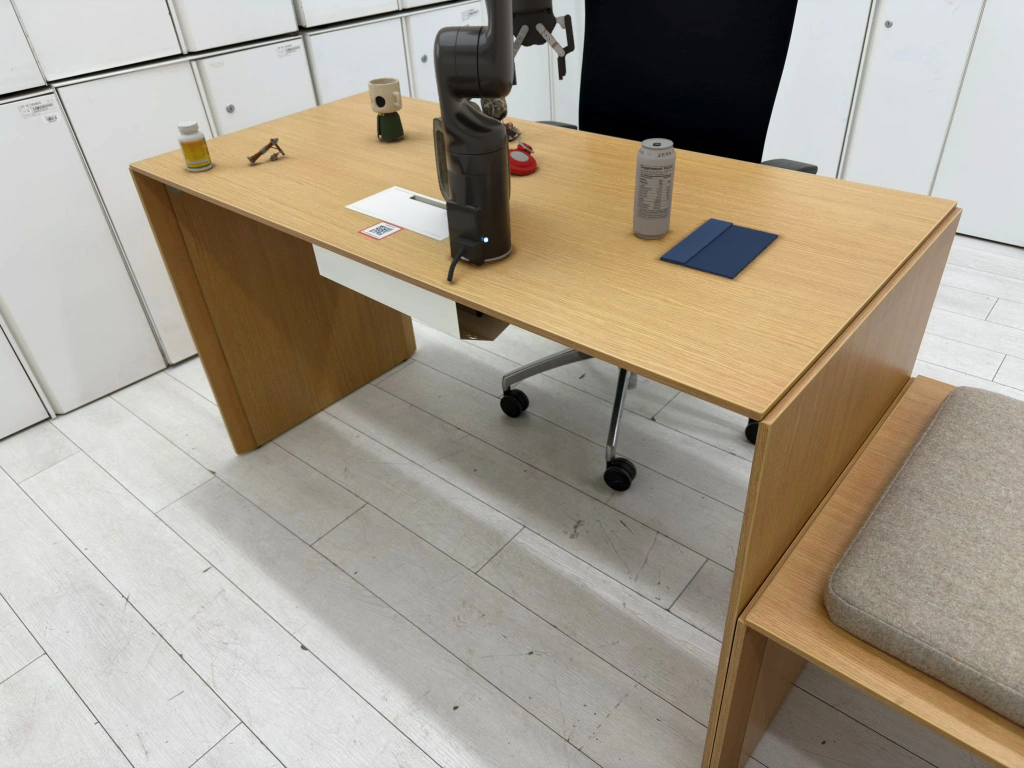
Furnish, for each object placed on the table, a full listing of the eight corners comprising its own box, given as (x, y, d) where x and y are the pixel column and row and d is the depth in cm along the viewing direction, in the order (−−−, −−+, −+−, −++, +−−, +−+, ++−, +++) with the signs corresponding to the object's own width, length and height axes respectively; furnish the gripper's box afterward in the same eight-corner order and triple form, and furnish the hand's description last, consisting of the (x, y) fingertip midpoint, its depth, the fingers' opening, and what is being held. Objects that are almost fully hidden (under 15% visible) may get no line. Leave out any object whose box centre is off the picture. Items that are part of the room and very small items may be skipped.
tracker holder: (542, 169, 143) (494, 161, 141) (536, 188, 147) (489, 180, 144) (535, 138, 151) (489, 130, 149) (530, 156, 155) (485, 149, 152)
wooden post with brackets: (289, 152, 159) (277, 135, 156) (261, 174, 158) (248, 158, 155) (286, 151, 161) (274, 134, 157) (258, 172, 159) (245, 156, 156)
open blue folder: (732, 279, 105) (733, 275, 104) (659, 259, 111) (659, 256, 111) (778, 236, 116) (778, 233, 116) (709, 220, 122) (710, 217, 122)
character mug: (365, 138, 169) (356, 80, 162) (388, 131, 173) (380, 74, 166) (394, 147, 163) (385, 87, 155) (417, 139, 167) (410, 80, 159)
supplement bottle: (183, 168, 157) (170, 123, 151) (207, 162, 159) (195, 118, 154) (192, 174, 153) (178, 128, 148) (216, 168, 156) (203, 123, 150)
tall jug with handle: (440, 212, 130) (425, 65, 116) (487, 203, 133) (478, 59, 118) (464, 242, 119) (451, 84, 105) (514, 232, 122) (509, 77, 107)
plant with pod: (471, 141, 164) (464, 47, 153) (503, 128, 171) (498, 38, 160) (498, 147, 160) (493, 50, 148) (529, 134, 167) (527, 41, 155)
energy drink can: (670, 227, 121) (678, 137, 112) (666, 242, 116) (675, 149, 107) (634, 224, 122) (640, 136, 113) (629, 239, 117) (635, 148, 109)
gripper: (485, -14, 120) (497, 88, 128) (569, -26, 118) (576, 79, 126) (490, -13, 127) (501, 85, 134) (570, -24, 125) (577, 76, 132)
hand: (537, 82), depth 130 cm, fingers open, 8 cm apart
